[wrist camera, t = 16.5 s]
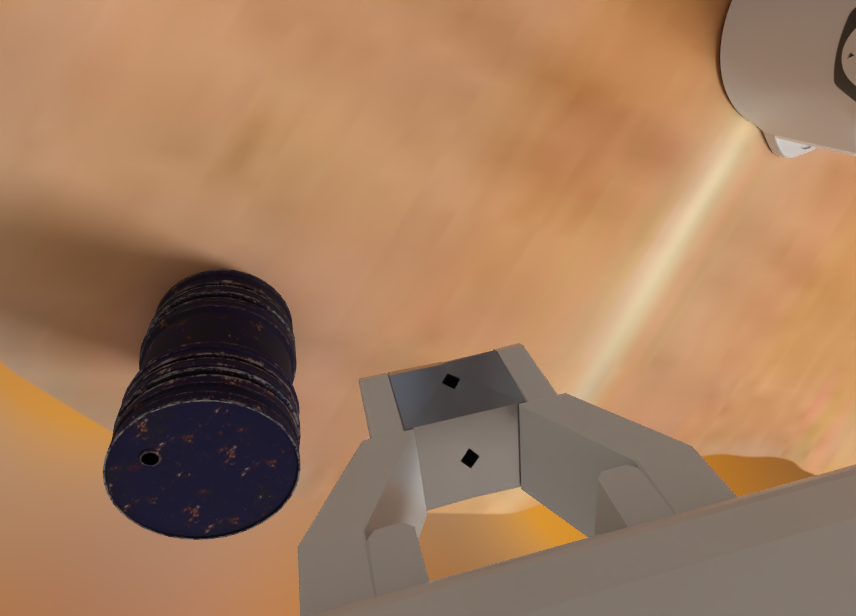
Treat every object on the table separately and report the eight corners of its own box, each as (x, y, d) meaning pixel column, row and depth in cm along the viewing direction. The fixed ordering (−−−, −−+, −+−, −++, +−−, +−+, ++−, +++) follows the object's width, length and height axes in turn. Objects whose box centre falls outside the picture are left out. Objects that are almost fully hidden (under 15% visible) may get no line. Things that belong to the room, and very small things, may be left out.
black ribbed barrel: (318, 302, 44) (336, 434, 31) (258, 400, 47) (253, 556, 34) (186, 244, 40) (145, 370, 27) (129, 355, 43) (69, 515, 30)
